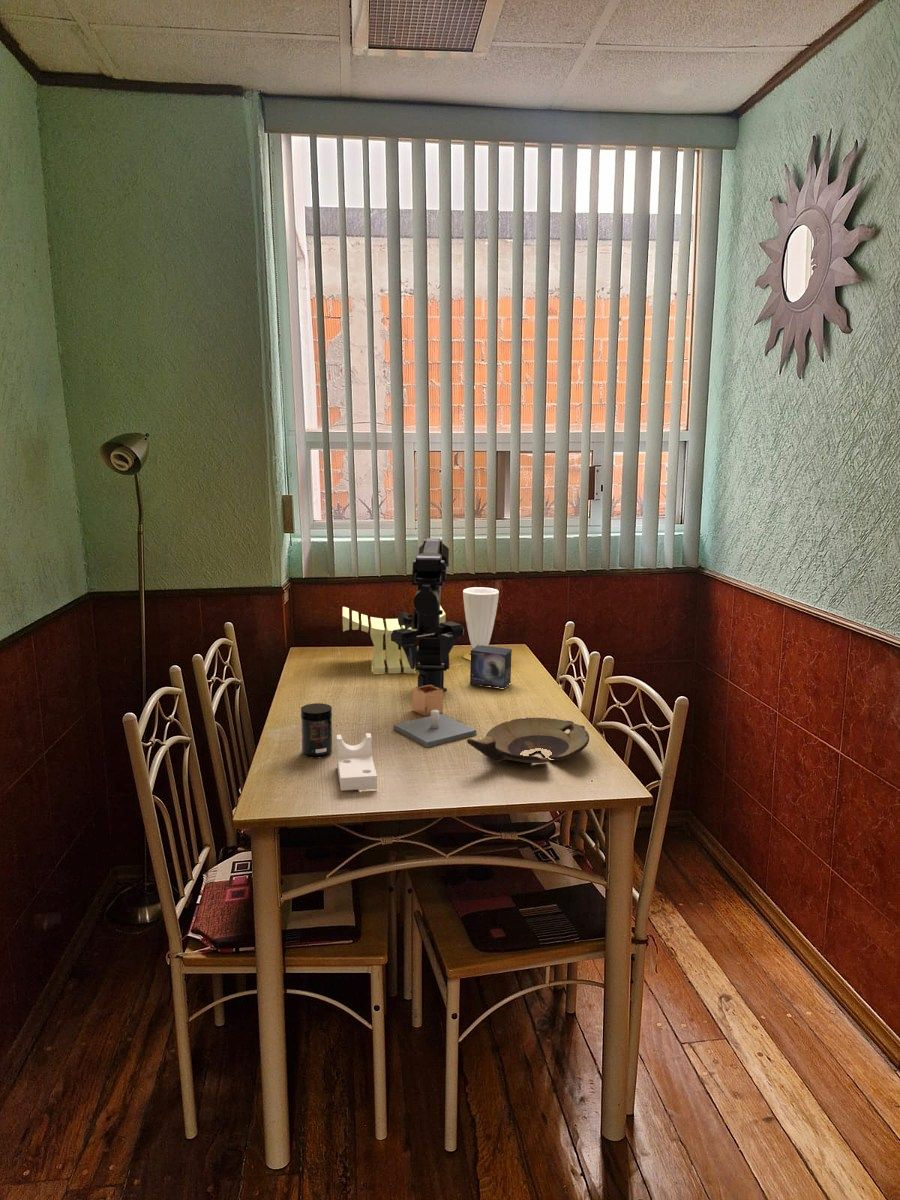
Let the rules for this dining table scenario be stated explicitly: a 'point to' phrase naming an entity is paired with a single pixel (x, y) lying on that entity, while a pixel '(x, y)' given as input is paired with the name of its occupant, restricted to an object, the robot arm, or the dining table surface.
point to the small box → (490, 666)
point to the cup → (480, 613)
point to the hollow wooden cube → (427, 699)
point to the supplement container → (316, 730)
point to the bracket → (356, 765)
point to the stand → (434, 729)
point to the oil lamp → (532, 739)
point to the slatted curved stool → (377, 638)
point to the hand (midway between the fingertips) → (427, 665)
